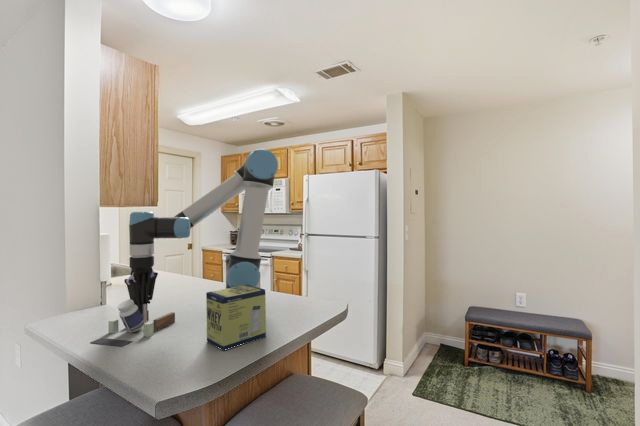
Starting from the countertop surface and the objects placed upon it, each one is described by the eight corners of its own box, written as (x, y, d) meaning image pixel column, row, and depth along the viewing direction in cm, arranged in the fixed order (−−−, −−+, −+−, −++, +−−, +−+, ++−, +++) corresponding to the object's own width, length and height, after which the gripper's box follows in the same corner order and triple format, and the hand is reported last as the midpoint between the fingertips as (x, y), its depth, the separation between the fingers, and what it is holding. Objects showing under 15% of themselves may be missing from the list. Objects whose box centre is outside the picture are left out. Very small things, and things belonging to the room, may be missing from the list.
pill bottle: (148, 320, 113) (138, 297, 109) (139, 332, 108) (127, 309, 104) (133, 321, 114) (122, 298, 110) (123, 333, 109) (111, 310, 105)
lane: (174, 322, 120) (174, 312, 120) (157, 330, 111) (157, 320, 111) (145, 319, 123) (145, 310, 123) (125, 327, 114) (125, 317, 114)
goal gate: (153, 334, 107) (153, 322, 107) (148, 336, 105) (148, 324, 105) (113, 330, 111) (113, 319, 111) (108, 332, 109) (108, 320, 109)
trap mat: (132, 341, 101) (132, 341, 101) (121, 346, 97) (121, 346, 97) (101, 338, 104) (101, 337, 104) (89, 343, 100) (89, 342, 100)
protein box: (205, 342, 101) (205, 292, 101) (248, 329, 112) (248, 284, 112) (222, 352, 93) (222, 297, 93) (266, 337, 105) (266, 288, 105)
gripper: (146, 252, 121) (147, 315, 121) (117, 258, 108) (118, 328, 109) (163, 253, 119) (164, 317, 119) (136, 259, 107) (136, 330, 107)
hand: (142, 322), depth 114 cm, fingers closed
